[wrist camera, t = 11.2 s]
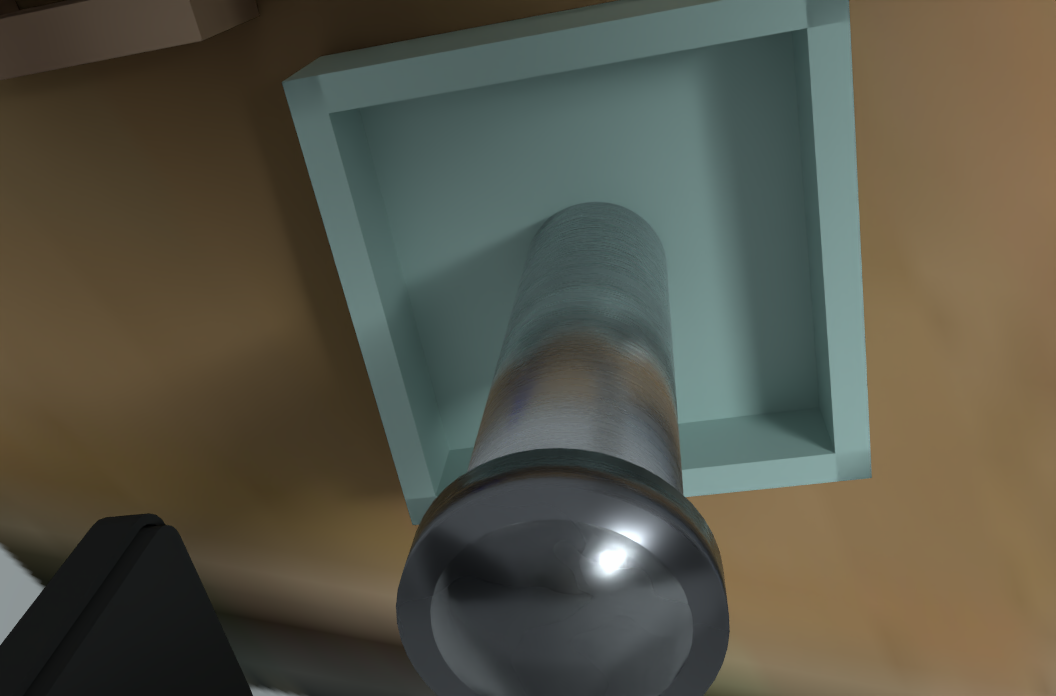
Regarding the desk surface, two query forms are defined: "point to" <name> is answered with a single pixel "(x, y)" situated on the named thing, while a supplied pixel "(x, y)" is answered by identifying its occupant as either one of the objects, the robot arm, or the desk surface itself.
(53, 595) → the robot arm
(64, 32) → the socket
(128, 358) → the desk surface
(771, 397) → the tray
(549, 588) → the flashlight
